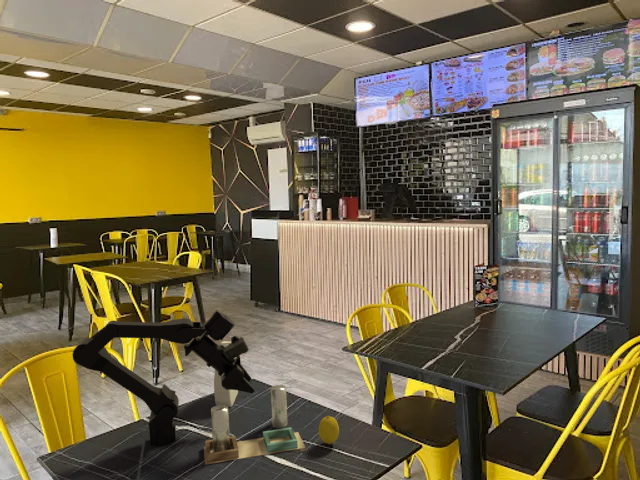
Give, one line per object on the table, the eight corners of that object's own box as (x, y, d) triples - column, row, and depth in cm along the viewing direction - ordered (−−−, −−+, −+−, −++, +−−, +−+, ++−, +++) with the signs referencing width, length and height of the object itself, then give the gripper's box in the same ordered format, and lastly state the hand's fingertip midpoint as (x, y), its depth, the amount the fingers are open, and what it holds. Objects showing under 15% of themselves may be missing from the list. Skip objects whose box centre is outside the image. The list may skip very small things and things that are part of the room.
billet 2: (273, 432, 143) (272, 391, 142) (271, 425, 148) (269, 386, 146) (288, 429, 144) (287, 389, 143) (286, 423, 149) (284, 384, 148)
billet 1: (213, 458, 128) (211, 413, 127) (212, 449, 132) (210, 406, 131) (231, 455, 129) (228, 410, 128) (229, 447, 134) (227, 404, 132)
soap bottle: (231, 410, 159) (228, 349, 157) (215, 411, 159) (211, 350, 157) (240, 390, 175) (237, 335, 173) (225, 391, 175) (222, 335, 173)
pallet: (205, 468, 125) (204, 456, 125) (204, 450, 134) (203, 440, 134) (305, 451, 132) (305, 440, 132) (298, 435, 141) (297, 425, 140)
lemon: (322, 450, 132) (321, 421, 131) (316, 441, 137) (315, 413, 136) (342, 447, 133) (341, 418, 133) (336, 437, 139) (335, 410, 138)
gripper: (232, 339, 131) (275, 375, 135) (228, 322, 149) (267, 354, 153) (203, 372, 130) (247, 407, 134) (203, 350, 148) (242, 382, 152)
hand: (252, 385), depth 143 cm, fingers open, 9 cm apart
